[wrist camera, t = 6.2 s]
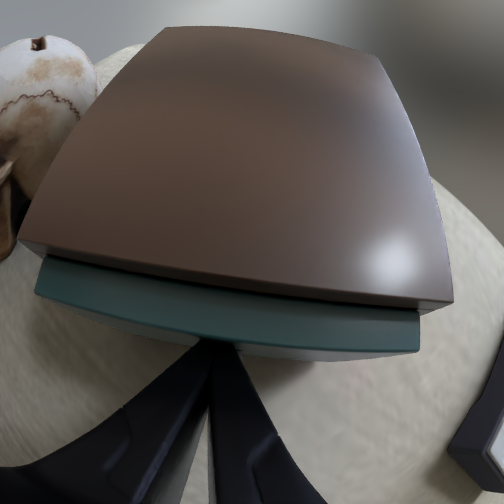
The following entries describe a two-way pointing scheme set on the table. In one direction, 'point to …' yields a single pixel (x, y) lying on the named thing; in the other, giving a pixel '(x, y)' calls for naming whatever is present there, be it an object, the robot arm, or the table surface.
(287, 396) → the table surface
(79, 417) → the table surface
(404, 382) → the table surface
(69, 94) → the coin bank
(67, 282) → the drawer
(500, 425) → the calculator
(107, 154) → the cabinet
